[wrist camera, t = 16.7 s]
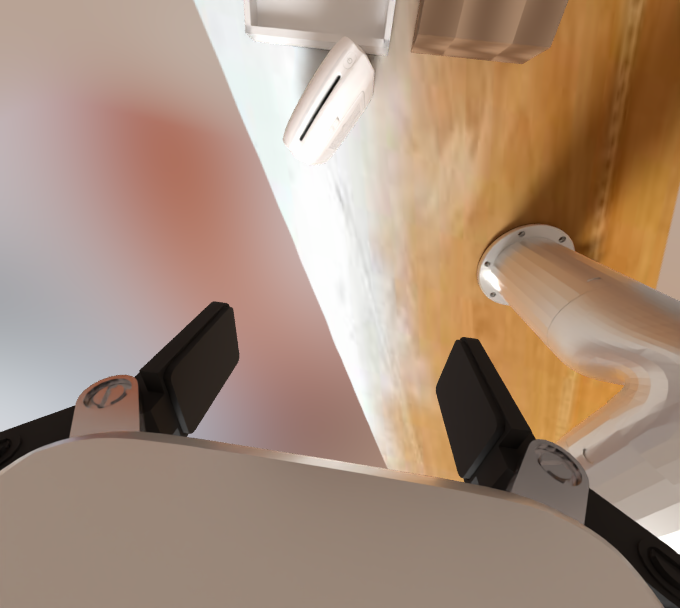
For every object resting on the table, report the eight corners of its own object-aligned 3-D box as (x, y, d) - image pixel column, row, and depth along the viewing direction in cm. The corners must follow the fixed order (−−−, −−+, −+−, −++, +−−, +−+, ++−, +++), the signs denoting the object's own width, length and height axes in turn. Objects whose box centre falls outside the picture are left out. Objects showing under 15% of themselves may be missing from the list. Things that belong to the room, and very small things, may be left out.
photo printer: (351, 62, 29) (340, 10, 18) (378, 93, 30) (383, 60, 19) (299, 144, 34) (267, 141, 23) (325, 168, 35) (305, 175, 24)
